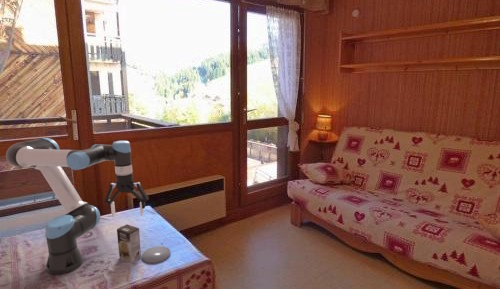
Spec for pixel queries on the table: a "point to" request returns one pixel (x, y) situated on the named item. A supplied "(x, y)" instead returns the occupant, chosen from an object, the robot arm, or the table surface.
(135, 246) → the coffee box
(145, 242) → the table surface
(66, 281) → the table surface
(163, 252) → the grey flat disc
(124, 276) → the table surface
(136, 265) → the table surface
